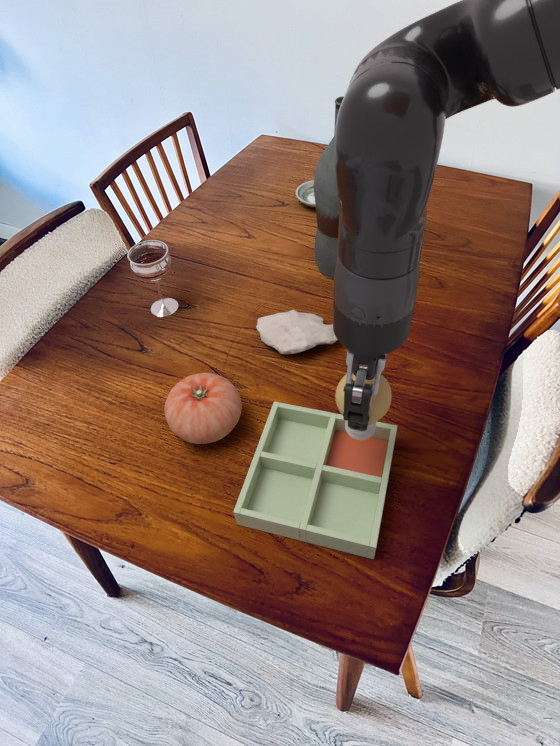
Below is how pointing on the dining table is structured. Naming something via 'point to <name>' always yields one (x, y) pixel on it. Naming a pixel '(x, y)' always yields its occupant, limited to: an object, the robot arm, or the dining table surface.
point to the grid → (317, 480)
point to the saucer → (306, 193)
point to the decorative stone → (294, 331)
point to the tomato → (203, 408)
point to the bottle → (327, 207)
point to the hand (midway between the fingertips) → (363, 402)
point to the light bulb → (378, 406)
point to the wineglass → (153, 271)
